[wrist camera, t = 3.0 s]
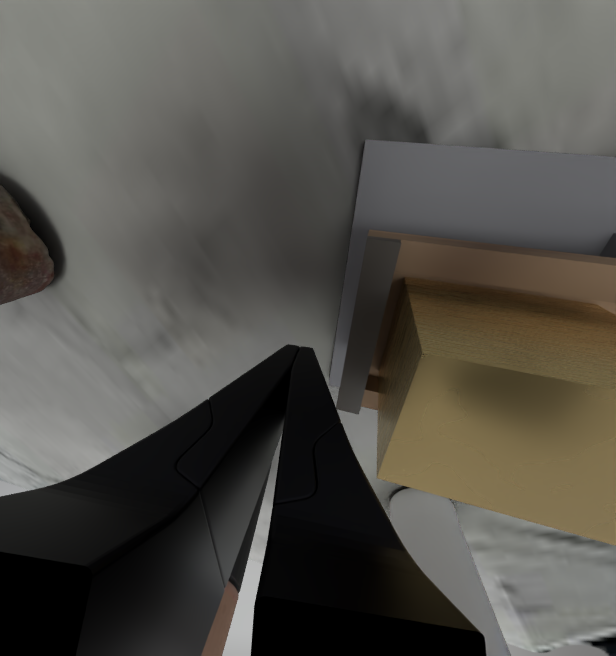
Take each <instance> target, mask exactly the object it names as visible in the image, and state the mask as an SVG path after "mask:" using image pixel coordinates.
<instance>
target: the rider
mask: <svg viewBox="0 0 616 656" xmlns="http://www.w3.org/2000/svg"><path fill="white" fill-rule="evenodd" d="M377 478H378V479H382V480H385V481H389V482H392V483H396V484H399V485H403V486H407V487H410V488H414V489H417V490H421V491H424V492H428V493H431V494H435V495H438V496H442V497H445V498H449V499H453V500H456V501H460V502H463V503H467V504H470V505H474V506H477V507H481V508H484V509H488V510H492V511H495V512H499V513H502V514H506V515H509V516H513V517H516V518H520V519H523V520H527V521H530V522H534V523H538V524H541V525H545V526H548V527H552V528H555V529H559V530H562V531H566V532H569V533H573V534H577V535H580V536H584V537H587V538H591V539H594V540H598V541H601V542H605V543H608V544H612V545H615V546H616V315H615V314H613V313H611V312H609V311H608V310H606V309H604V308H602V307H601V306H599V305H597V304H592V303H585V302H578V301H571V300H565V299H558V298H551V297H544V296H537V295H530V294H523V293H516V292H509V291H502V290H495V289H488V288H481V287H475V286H468V285H461V284H454V283H447V282H440V281H433V280H426V279H419V278H412V277H405V276H404V279H403V283H402V286H401V290H400V294H399V297H398V301H397V305H396V308H395V312H394V316H393V319H392V323H391V327H390V330H389V334H388V338H387V342H386V345H385V349H384V353H383V356H382V360H381V364H380V367H379V378H378V435H377Z"/></svg>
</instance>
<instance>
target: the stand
mask: <svg viewBox="0 0 616 656" xmlns="http://www.w3.org/2000/svg"><path fill="white" fill-rule="evenodd" d="M369 230H378V231H386V232H395V233H404V234H412V235H421V236H429V237H438V238H447V239H455V240H464V241H472V242H481V243H490V244H498V245H507V246H515V247H524V248H533V249H541V250H550V251H558V252H567V253H575V254H584V255H593V256H601V257H610V258H616V157H611V156H596V155H582V154H568V153H553V152H539V151H525V150H510V149H496V148H482V147H467V146H453V145H439V144H424V143H410V142H396V141H381V140H367V139H366V140H365V145H364V151H363V158H362V165H361V171H360V178H359V185H358V191H357V198H356V204H355V211H354V218H353V224H352V231H351V238H350V244H349V251H348V258H347V264H346V271H345V278H344V284H343V291H342V297H341V304H340V311H339V317H338V324H337V331H336V337H335V344H334V351H333V357H332V364H331V370H330V377H329V386H336V387H340V383H341V378H342V372H343V367H344V361H345V356H346V350H347V345H348V339H349V334H350V328H351V323H352V317H353V312H354V306H355V301H356V295H357V290H358V284H359V279H360V273H361V268H362V262H363V257H364V251H365V246H366V240H367V236H368V233H369Z"/></svg>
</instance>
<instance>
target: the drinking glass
mask: <svg viewBox="0 0 616 656" xmlns="http://www.w3.org/2000/svg"><path fill="white" fill-rule="evenodd" d="M389 510H390V519H391V524H392V525H393V527H394V529H395V531H396V533H397V534H398V536H399V538H400V540H401V541H402V543H403V545H404V546H405V548H406V549H407V551H408V553H409V554H410V555H411V557H412V558H413V560H414V561H415V562H416V564H417V565H418V566H419V567H420V569H421V570H422V571H423V572H424V574H425V575H426V576H427V577H428V578H429V579H430V580H431V581H432V582H433V583H434V584H435V585H436V586H437V587H438V588H439V590H440V591H441V592H442V593H443V594H444V595H445V596H446V597H447V598H448V599H449V600H450V601H451V602H452V603H453V604H454V605H455V606H456V607H457V608H458V609H459V610H460V611H461V612H462V613H463V614H464V615H465V617H466V618H467V619H468V620H469V621H470V622H471V623H472V624H473V625H474V626H475V627H476V628H477V629H478V630H479V631H480V632H481V633H482V634H483V635H484V638H485V645H486V656H511V654H510V651H509V649H508V646H507V644H506V641H505V639H504V636H503V634H502V631H501V629H500V626H499V624H498V621H497V619H496V616H495V614H494V611H493V608H492V606H491V603H490V601H489V598H488V596H487V593H486V591H485V588H484V586H483V583H482V581H481V578H480V575H479V573H478V570H477V568H476V565H475V563H474V560H473V557H472V555H471V552H470V550H469V547H468V545H467V542H466V539H465V537H464V534H463V531H462V529H461V526H460V522H459V519H458V516H457V513H456V510H455V507H454V505H453V503H452V502H451V500H450V499H449V498H445V497H442V496H438V495H435V494H431V493H428V492H424V491H421V490H417V489H414V488H407V489H403V490H401V491H399V492H397V493H396V494H395V495H394V496H393V497H392V498H391V500H390V504H389Z"/></svg>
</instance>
